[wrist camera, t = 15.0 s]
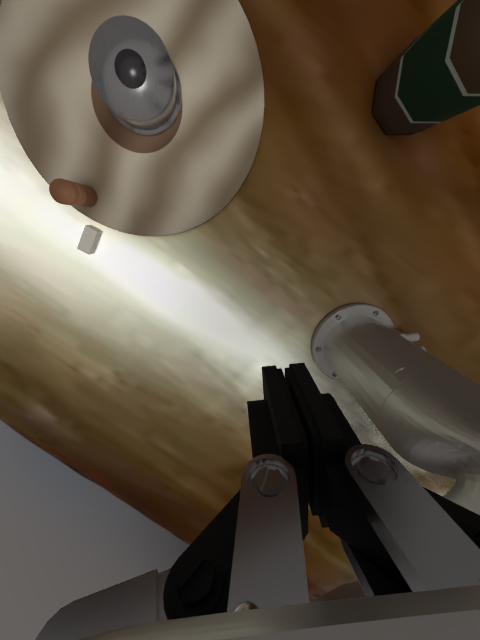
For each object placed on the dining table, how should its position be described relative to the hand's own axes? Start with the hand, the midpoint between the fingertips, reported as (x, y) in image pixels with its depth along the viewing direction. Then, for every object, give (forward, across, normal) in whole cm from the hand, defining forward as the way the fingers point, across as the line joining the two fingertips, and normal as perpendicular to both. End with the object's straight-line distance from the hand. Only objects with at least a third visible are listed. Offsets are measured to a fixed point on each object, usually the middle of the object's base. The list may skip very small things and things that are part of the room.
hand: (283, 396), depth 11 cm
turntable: (+26, +10, -19) cm, 34 cm away
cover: (+24, +9, -20) cm, 33 cm away
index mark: (+26, +18, -7) cm, 32 cm away
